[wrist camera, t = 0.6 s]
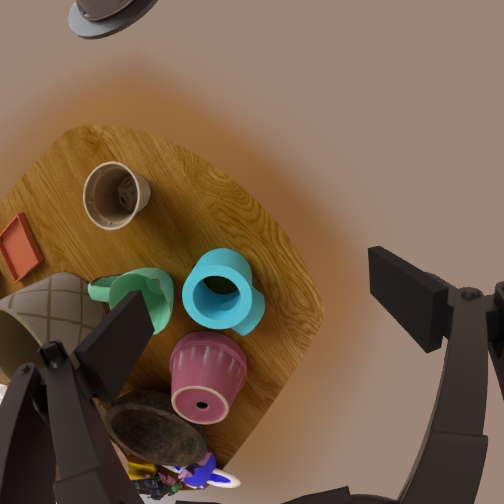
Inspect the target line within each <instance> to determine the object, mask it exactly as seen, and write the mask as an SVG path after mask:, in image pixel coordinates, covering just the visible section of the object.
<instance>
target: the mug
mask: <svg viewBox="0 0 504 504" xmlns="http://www.w3.org/2000/svg"><path fill="white" fill-rule="evenodd" d="M140 289H141V290H142V293H143V297H144V300H145V303H146V306H147V309H148V311H149V314H150V317H151V320H152V323H153V326H154V328H155V332H154V333H153V335H155V334H158V333H159V332H161V331H162V330H164V329H165V327H166V326H167V324H168V323H169V321H170V319H171V315H172V310H173V299H174V289H173V283H172V280H171V277H170V275H169V274H168V273H167V272H166V271H164V270H162V269H159V268H141V269H136V270H133V271H130V272H127V273H125V274H117V275H110V276H103V277H99V278H97V279H95V280H93V281H91V282H90V283H89V285H88V292H89V295H90V297H91V299H92V300H97V301H102V302H109V306H110V310H112V309H113V308H114V307H115V306H116V305H117V304H118V303H119V302H120V301H121V300H122V299H123V298H124V297H125V296H126V295H127V294H128V293H129V292H130V291H134V290H140Z"/></svg>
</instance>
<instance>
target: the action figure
mask: <svg viewBox="0 0 504 504" xmlns="http://www.w3.org/2000/svg"><path fill="white" fill-rule="evenodd" d="M158 474H159V476H160V478H161V480H160V481H158V480H157V479H153V478H149V479H137V480H131V481H132V483H133V485H134V487H135V488H136V490H137V492H138V493H139V494H146V495H151V498H152V499H154V500H160V499H161V498H162V497H163V496H164V495H165V494H167V493H169V494H168V496H171V495H173V494H175V493H177V492H178V491H177V492H173V491H172V488H171V487H172V486H174V485H176V484H178V485H179V486H180V488H182V487H184V484H183V483H182V482H181V484H179V483H180V481H175V480H174V478H173V477H170V476H168V475H166V474H160V473H158ZM147 498H150V497H147Z"/></svg>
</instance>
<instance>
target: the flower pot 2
mask: <svg viewBox="0 0 504 504" xmlns="http://www.w3.org/2000/svg"><path fill="white" fill-rule="evenodd" d="M169 367H170V372H171V375H172V399H171V400H172V406H173V408H174V410H175V411H176V412H177V413H178V414H179V415H180V416H181V417H183V418H184V419H186V420H188V421H191V422H194V423H197V424H213V423H217V422H219V421H221V420H223V419H224V418H225V417H226V416H227V414H228V412H229V410H230V408H231V406H232V403H233V401H234V399H235V397H236V394H237V392H238V391H239V390H240V389H241V388H242V387H243V385H244V383H245V381H246V377H247V359H246V356H245V353H244V352H243V350H242V348H241V347H240V346H239V345H238V344H237V343H236V342H235V341H234V340H232V339H231V338H229V337H227V336H225V335H223V334H220V333H217V332H212V331H197V332H193V333H190V334H187V335H186V336H184V337H183V338H181V339H180V340H179V342H178V343H177V344H176V346H175V348H174V350H173V352H172V355H171V358H170V363H169Z"/></svg>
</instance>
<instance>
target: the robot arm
mask: <svg viewBox="0 0 504 504" xmlns="http://www.w3.org/2000/svg"><path fill="white" fill-rule="evenodd" d="M75 1H76V4H77V7H78V10H79V13H80V14H81V16H82V17H83V18H85V19H86V20H87V21H91V22H99V21H103V20H107V19H109V18H112V17H114V16H116V15H118V14H119V13H121V12H123V11H124V10H125V9H127V8H128V7H129V6H131V5H132V4H133V3H134V2H135V1H136V0H75ZM368 258H369V275H370V293H371V294H372V295H373V296H374V297H375V298H376V299H377V300H378V301H379V302H380V304H381V305H382V306H383V307H384V308H385V309H386V310H387V311H388V312H389V313H390V314H391V315H392V316H393V317H394V318H395V319H396V320H397V321H398V323H399V324H400V325H401V326H402V327H403V328H404V329H405V330H406V331H407V332H408V333H409V334H410V335H411V337H412V338H413V339H414V340H415V341H416V342H417V343H418V344H419V346H420V347H421V348H422V349H423V350H424V351H425V352H426V353H429V352H432V351H434V350H436V349H439V348H441V344H442V339H443V336H444V337H445V338H447V339H448V344H447V349H446V354H445V359H444V366H443V371H442V375H441V380H440V384H439V388H438V392H437V396H436V400H435V404H434V408H433V411H432V414H431V417H430V421H429V424H428V427H427V430H426V433H425V436H424V439H423V442H422V444H421V447H420V450H419V452H418V455H417V457H416V460H415V463H414V465H413V467H412V470H411V472H410V474H409V476H408V479H407V480H406V483H405V485H404V487H403V489H402V491H401V492H400V494H399V496H398V498H397V500H393V499H390V498H387V497H382V496H377V495H368V494H367V495H365V494H355V495H350V492H349V488H348V486H345V487H342V488H338V489H333V490H329V491H325V492H320V493H315V494H309V495H304V496H302V497H299V498H296V499H293V500H291V501H288V502H285V503H282V504H474V501H475V498H476V495H477V491H478V487H479V484H480V480H481V476H482V472H483V467H484V463H485V458H486V452H487V447H488V437H487V435H483V427H484V420H485V410H486V399H487V384H488V351H489V354H490V356H491V359H492V362H493V365H494V368H495V372H496V375H497V378H498V381H499V385H500V389H501V393H502V396H503V400H504V281H503V282H499V283H497V284H496V286H495V293H494V294H493V295H487V296H484V295H483V293H482V292H481V291H480V290H479V289H476V288H471V287H463V288H460V289H457V288H456V287H454V286H453V285H451V284H449V283H447V282H445V280H443V279H440V277H438V276H436V275H435V274H431V273H428V272H423V271H422V270H420V269H418V268H416V267H415V266H413V265H412V264H410V263H408V262H407V261H405V260H403V259H402V258H400V257H398V256H396V255H395V254H393V253H391V252H389V251H388V250H386V249H384V248H383V247H381V246H376V247H371V248H368ZM154 332H155V328H154V326H153V323H152V320H151V317H150V314H149V311H148V309H147V306H146V303H145V300H144V297H143V293H142V290H141V289H140V290H134V291H130V292H129V293H128V294H127V295H126V296H125V297H124V298H123V299H122V300H121V301H120V302H119V303H118V304H117V305H116V306H115V307H114V308H113V309H112V310H111V311H110V312H109V313H108V314H107V315H106V316H105V317H104V318H103V319H102V321H101V322H100V323H99V324H98V325H97V326H96V327H95V328H94V329H93V330H92V331H91V332H90V333H89V334H88V335H87V337H86V338H85V339H84V340H83V341H82V342H81V343H80V344H79V345H78V346H77V347H76V349H75V350H74V351H73V352H72V353H71V354H70V355H69V356H68V354H67V352H66V350H65V348H64V346H63V343H62V342H61V340H52V341H49V342H47V343H45V344H43V345H42V346H41V347H40V348H39V349H38V351H37V352H38V354H39V356H40V358H41V360H42V362H43V364H44V366H45V367H46V370H44V371H38V369H37V368H36V366H35V364H34V363H26V364H22V365H20V366H19V368H18V369H17V370H16V371H15V373H14V375H13V377H12V379H11V381H10V383H9V386H8V388H7V390H6V392H5V395H4V397H3V399H2V402H1V404H0V504H56V502H57V504H145V503H144V501H143V500H142V498H141V497H140V495H139V493H138V492H137V490H136V488H135V487H134V485H133V483H132V481H131V480H130V478H129V476H128V474H127V472H126V470H125V469H124V467H123V465H122V463H121V461H120V459H119V457H118V455H117V453H116V451H115V449H114V447H113V444H112V442H111V440H110V438H109V436H108V433H107V431H106V429H105V426H104V424H103V422H102V419H101V417H100V414H99V412H98V409H97V406H96V404H95V402H94V400H93V399H92V396H93V394H94V392H95V393H96V394H97V396H98V398H99V399H100V401H101V402H112V403H114V402H115V401H116V399H117V397H118V395H119V393H120V391H121V390H122V388H123V386H124V384H125V382H126V381H127V379H128V377H129V375H130V373H131V372H132V370H133V368H134V366H135V364H136V363H137V361H138V359H139V357H140V356H141V354H142V352H143V350H144V349H145V347H146V345H147V344H148V342H149V340H150V338H151V337H152V335H153V333H154ZM56 460H57V464H58V469H59V473H60V477H61V480H58V481H56ZM175 504H220V503H215V502H213V503H212V502H190V501H189V502H188V501H176V503H175Z"/></svg>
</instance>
